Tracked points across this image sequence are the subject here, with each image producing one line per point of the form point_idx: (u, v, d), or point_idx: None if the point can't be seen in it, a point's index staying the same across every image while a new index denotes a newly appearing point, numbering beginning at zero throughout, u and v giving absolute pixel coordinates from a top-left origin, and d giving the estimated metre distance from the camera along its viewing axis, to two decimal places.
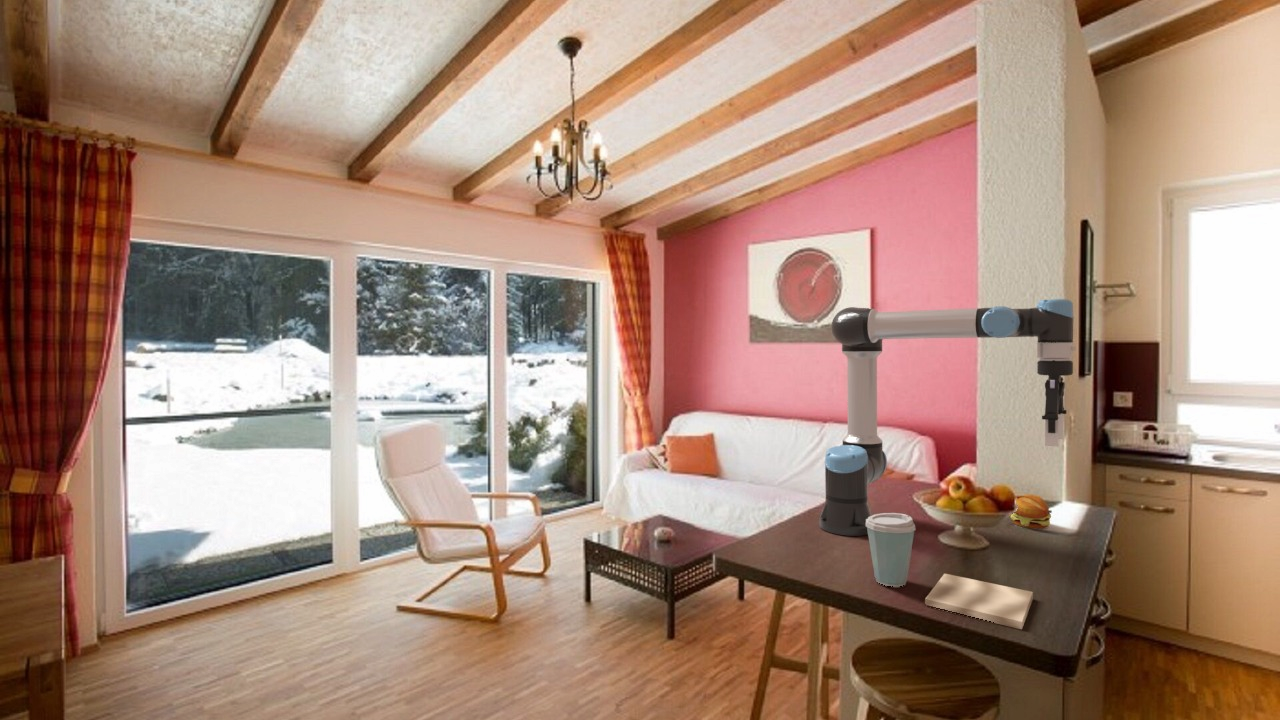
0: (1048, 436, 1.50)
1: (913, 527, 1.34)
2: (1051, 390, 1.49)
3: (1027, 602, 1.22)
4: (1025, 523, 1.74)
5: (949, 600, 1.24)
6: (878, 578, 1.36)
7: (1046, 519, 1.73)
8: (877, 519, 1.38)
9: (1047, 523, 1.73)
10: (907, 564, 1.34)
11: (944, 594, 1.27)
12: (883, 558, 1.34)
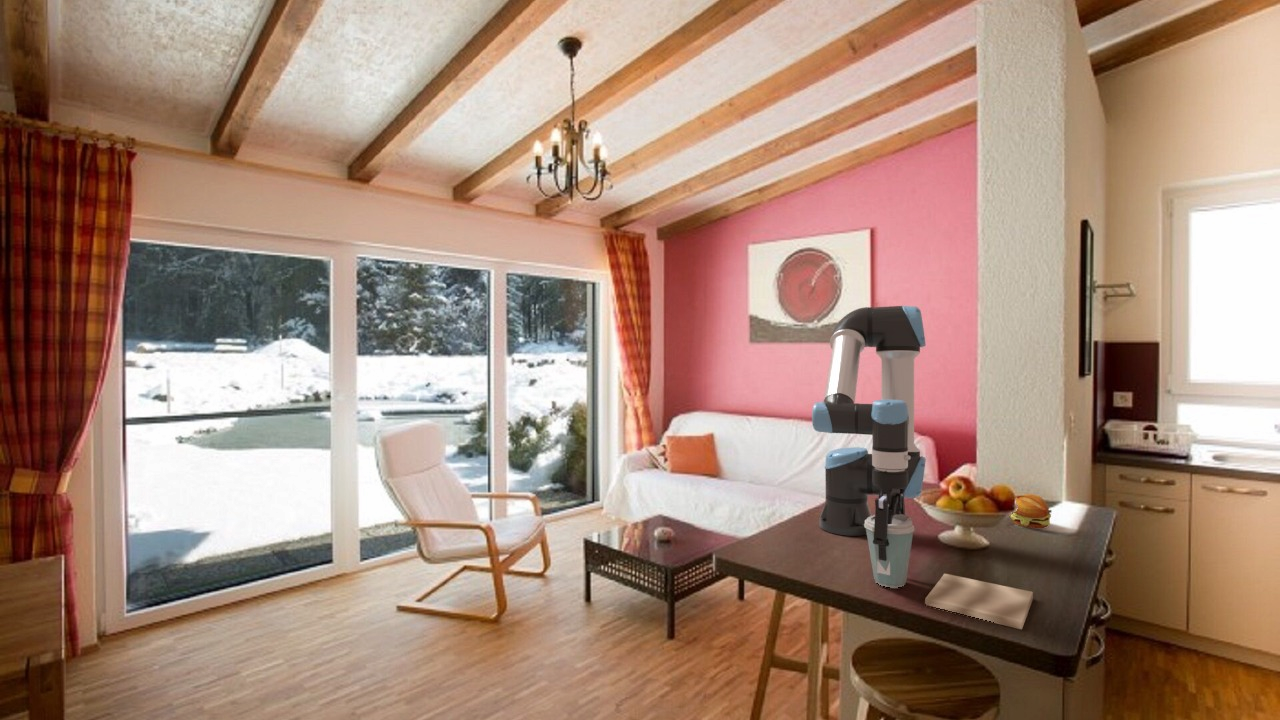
0: None
1: (912, 528, 1.33)
2: (880, 511, 1.32)
3: (1027, 602, 1.22)
4: (1025, 523, 1.74)
5: (949, 600, 1.24)
6: (877, 579, 1.35)
7: (1046, 519, 1.73)
8: None
9: (1047, 523, 1.73)
10: (906, 565, 1.33)
11: (944, 594, 1.27)
12: None
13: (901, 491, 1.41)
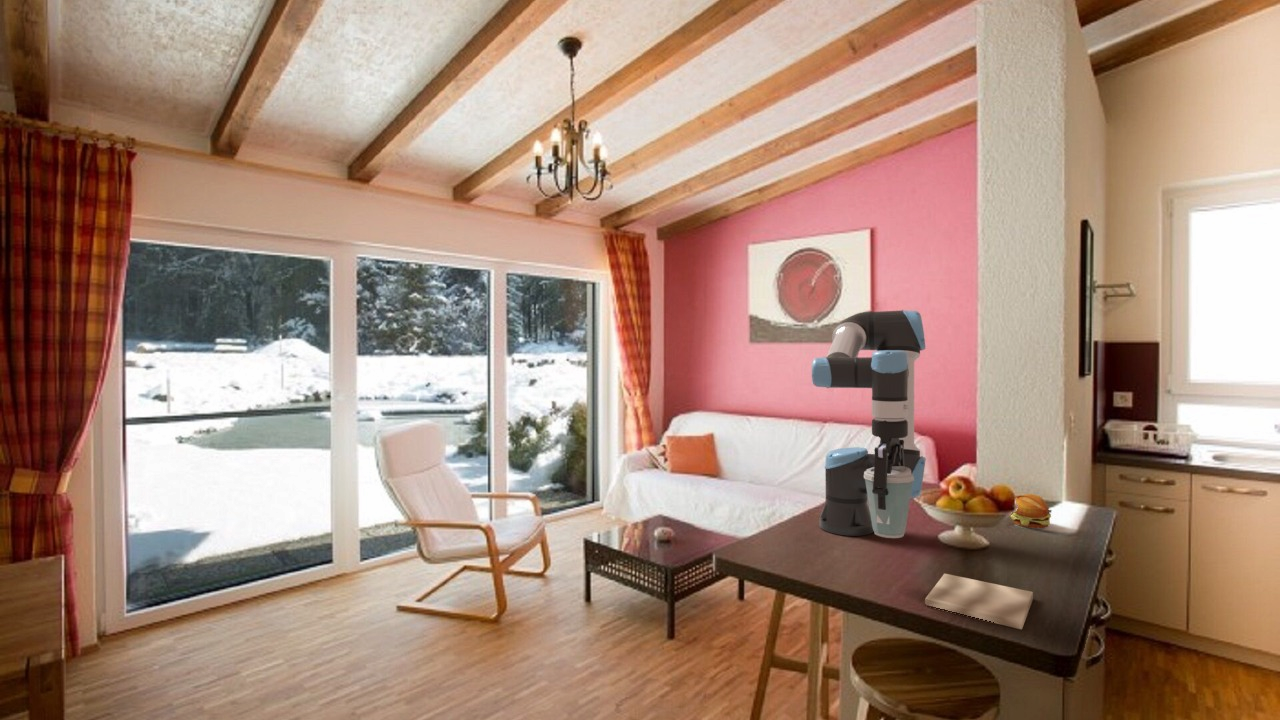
0: None
1: (911, 478, 1.33)
2: (879, 460, 1.31)
3: (1027, 602, 1.22)
4: (1025, 523, 1.74)
5: (949, 600, 1.24)
6: (876, 530, 1.35)
7: (1046, 519, 1.73)
8: None
9: (1047, 523, 1.73)
10: (905, 515, 1.33)
11: (944, 594, 1.27)
12: (881, 509, 1.33)
13: (901, 443, 1.40)
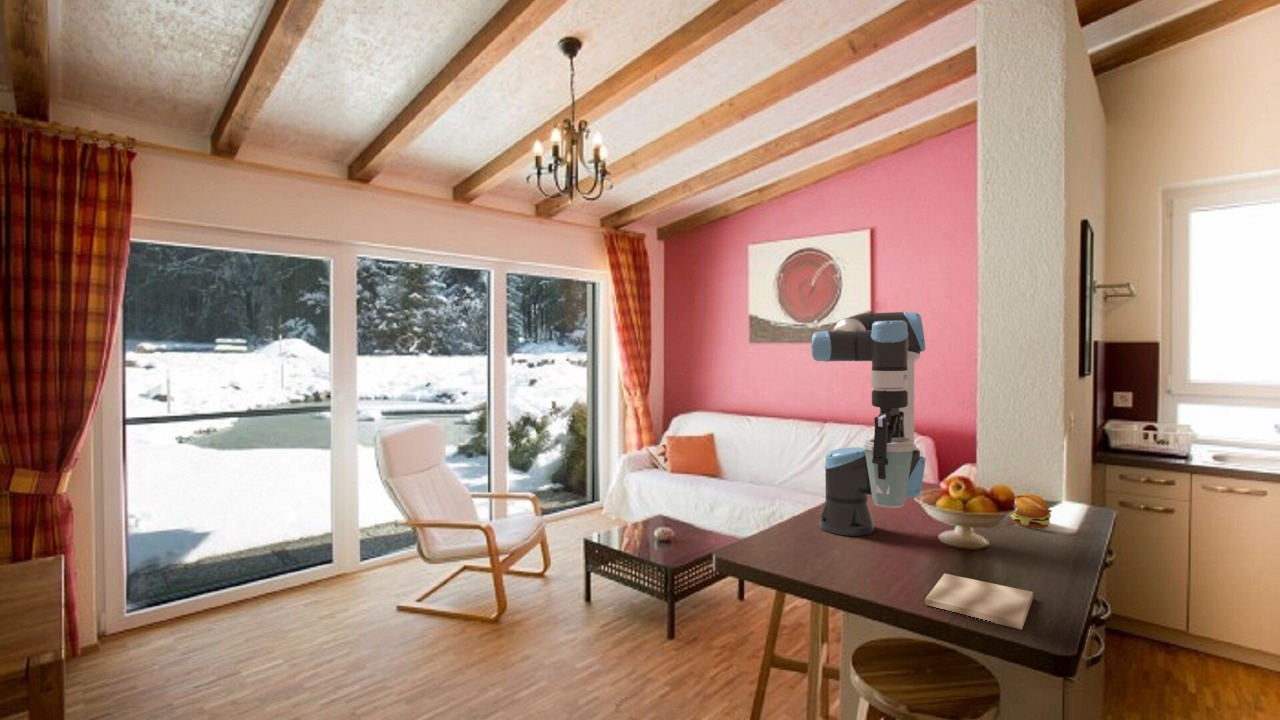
0: None
1: (911, 447, 1.32)
2: (879, 430, 1.31)
3: (1027, 602, 1.22)
4: (1025, 522, 1.74)
5: (949, 600, 1.24)
6: (876, 500, 1.34)
7: (1046, 519, 1.73)
8: None
9: (1047, 522, 1.73)
10: (905, 485, 1.33)
11: (944, 594, 1.27)
12: (881, 479, 1.33)
13: (900, 414, 1.40)
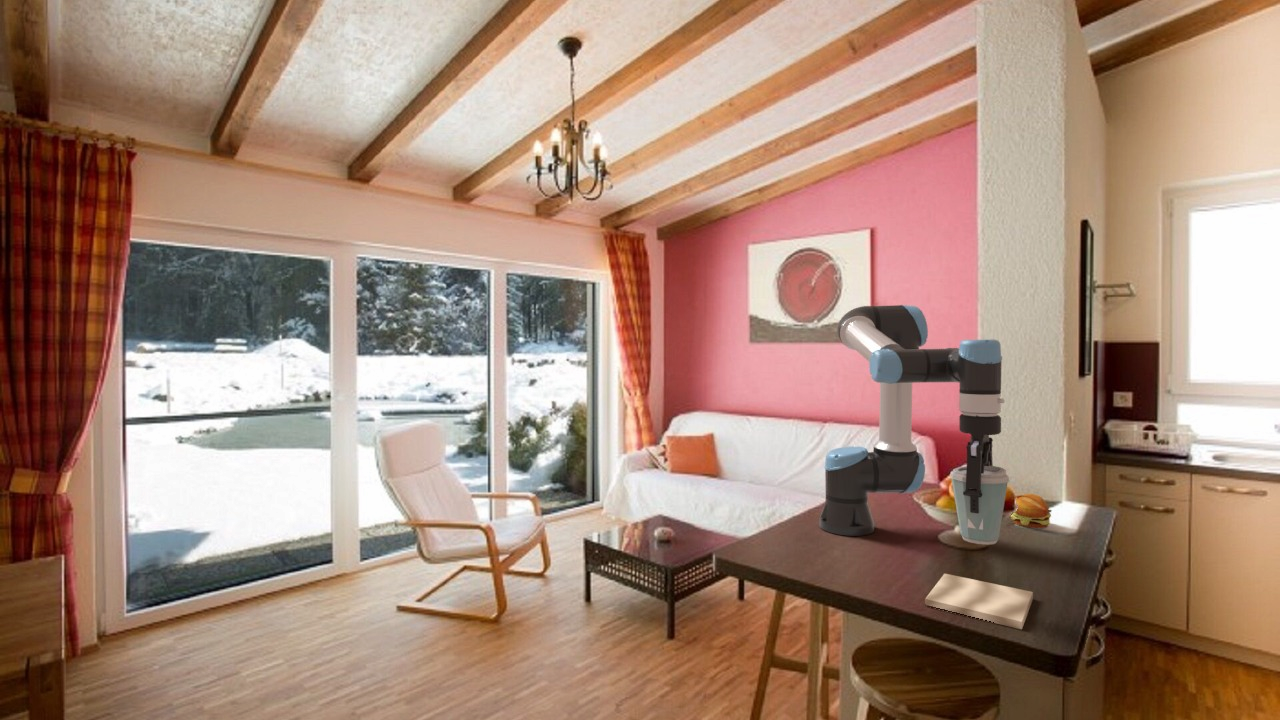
0: None
1: (1007, 478, 1.21)
2: (972, 459, 1.20)
3: (1027, 602, 1.22)
4: (1025, 522, 1.74)
5: (949, 600, 1.24)
6: (966, 535, 1.23)
7: (1046, 518, 1.74)
8: (964, 471, 1.26)
9: (1047, 522, 1.73)
10: (1000, 519, 1.21)
11: (944, 594, 1.27)
12: (973, 513, 1.21)
13: (989, 441, 1.29)
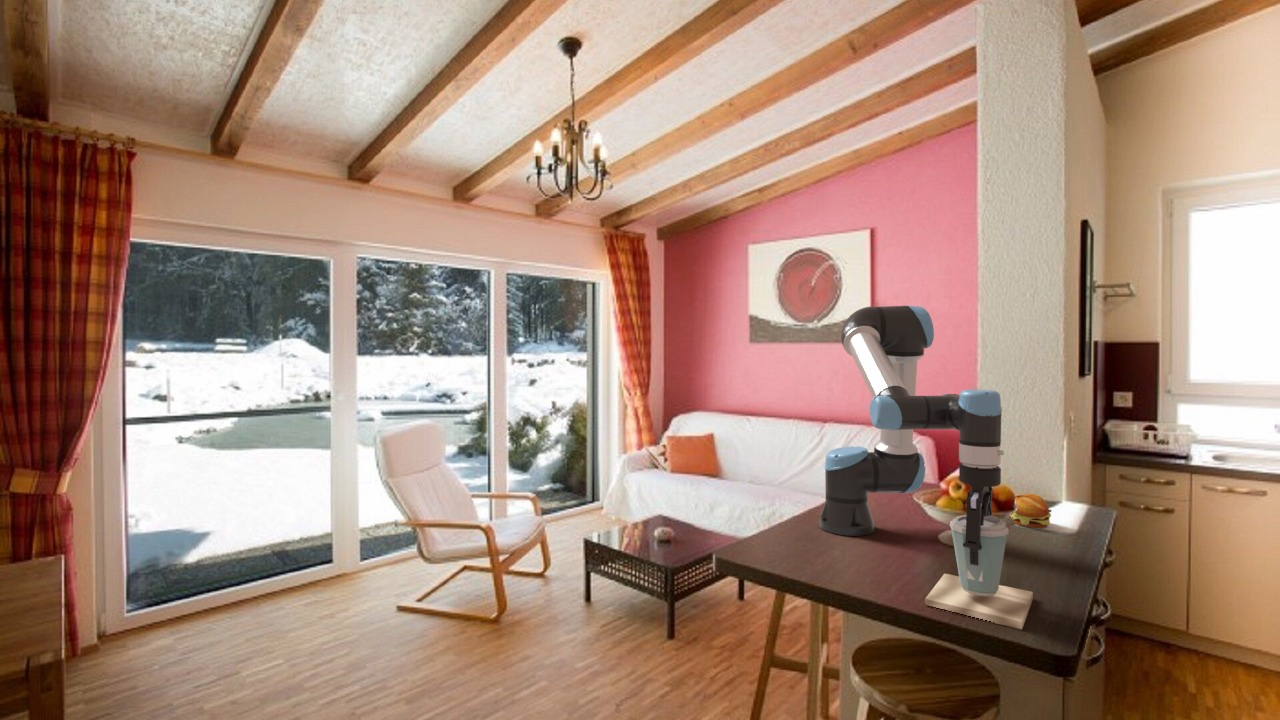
0: None
1: (1006, 530, 1.21)
2: (972, 511, 1.20)
3: (1027, 602, 1.22)
4: (1025, 522, 1.75)
5: (949, 600, 1.24)
6: (966, 586, 1.24)
7: (1046, 518, 1.74)
8: (963, 521, 1.26)
9: (1047, 522, 1.73)
10: (999, 571, 1.22)
11: (944, 594, 1.27)
12: None
13: (989, 490, 1.29)
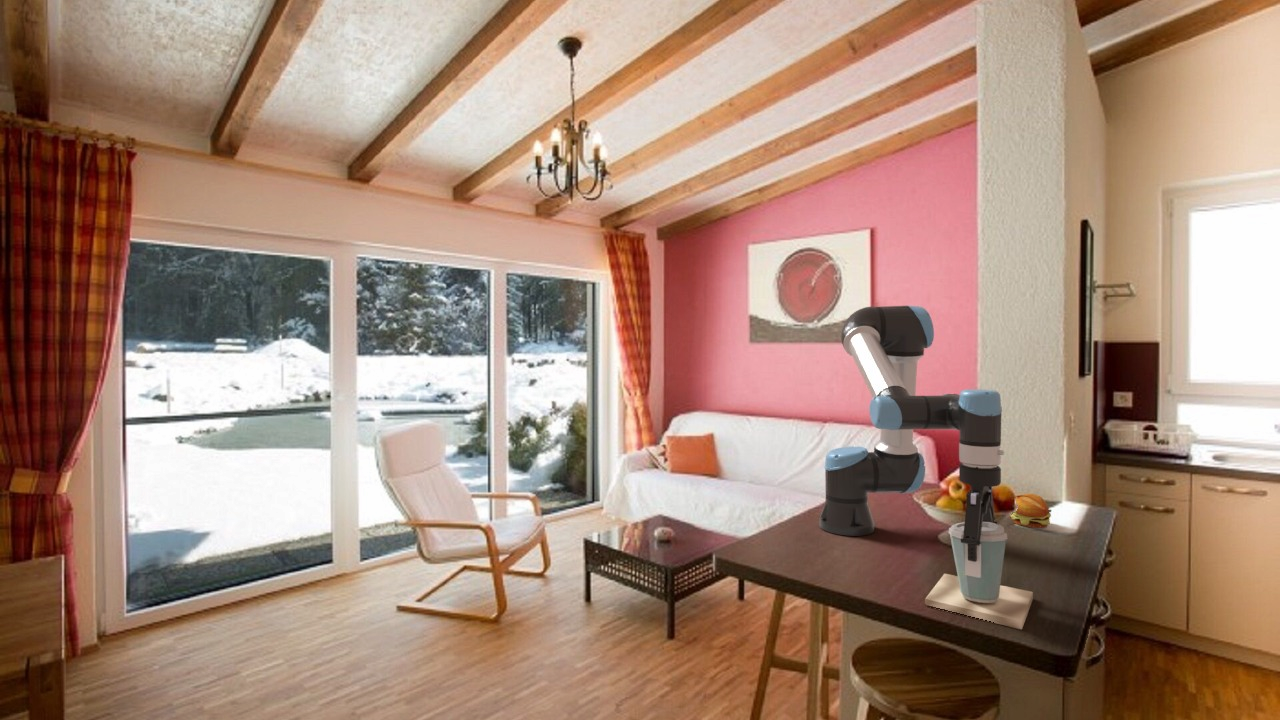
0: (969, 564, 1.21)
1: (1005, 535, 1.21)
2: (972, 507, 1.20)
3: (1027, 602, 1.22)
4: (1025, 522, 1.75)
5: (949, 600, 1.24)
6: (967, 593, 1.23)
7: (1046, 518, 1.74)
8: (962, 528, 1.26)
9: (1047, 522, 1.73)
10: (999, 577, 1.21)
11: (944, 594, 1.27)
12: None
13: (989, 486, 1.29)
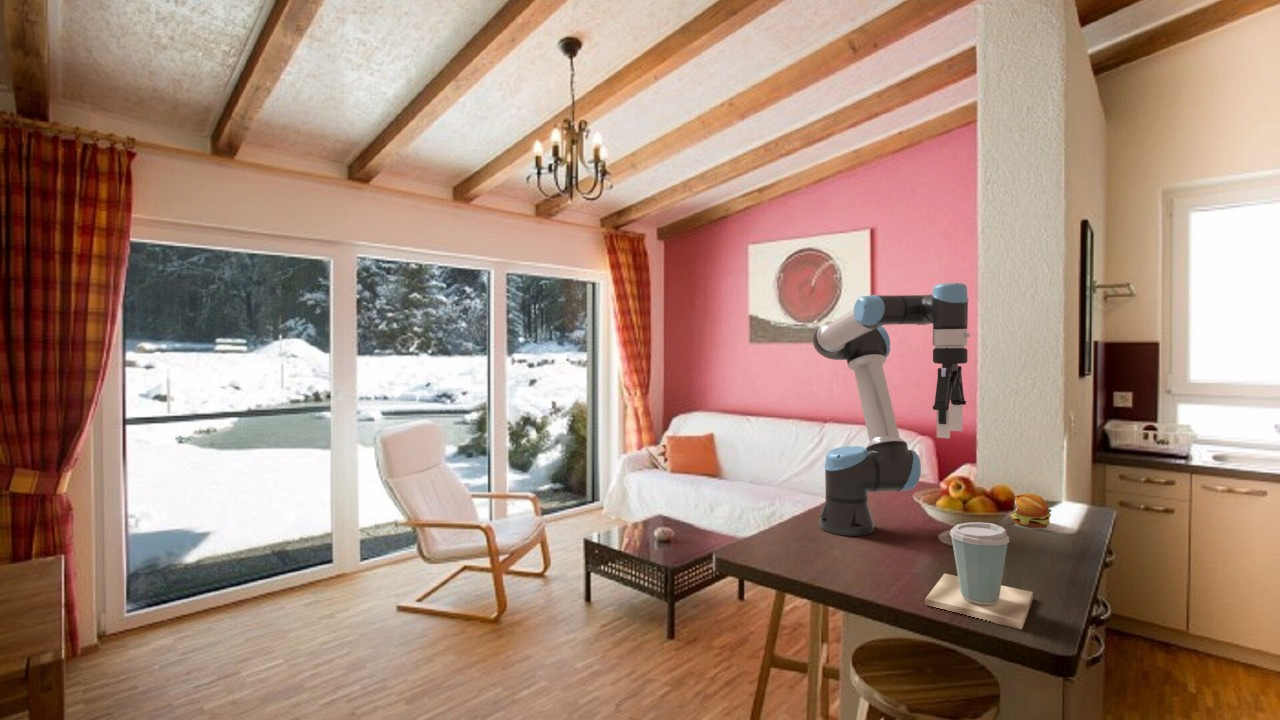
0: (939, 428, 1.42)
1: (1007, 538, 1.21)
2: (942, 379, 1.42)
3: (1027, 602, 1.22)
4: (1025, 522, 1.75)
5: (949, 600, 1.24)
6: (967, 595, 1.23)
7: (1046, 518, 1.74)
8: (964, 529, 1.25)
9: (1047, 522, 1.74)
10: (1000, 579, 1.21)
11: (944, 594, 1.27)
12: (974, 573, 1.21)
13: (959, 369, 1.51)
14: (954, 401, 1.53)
